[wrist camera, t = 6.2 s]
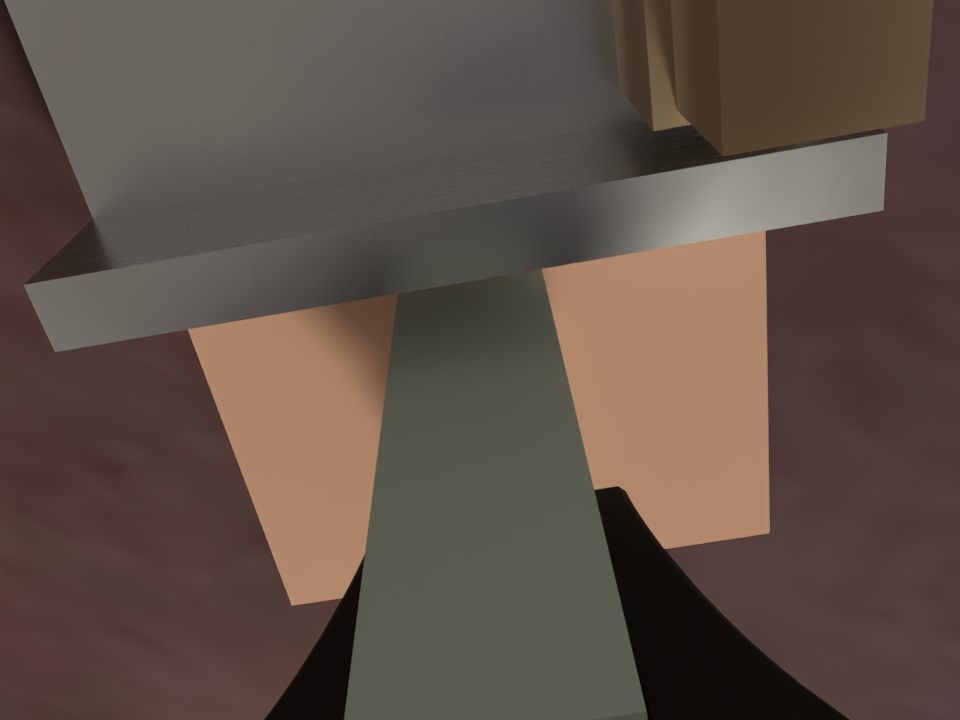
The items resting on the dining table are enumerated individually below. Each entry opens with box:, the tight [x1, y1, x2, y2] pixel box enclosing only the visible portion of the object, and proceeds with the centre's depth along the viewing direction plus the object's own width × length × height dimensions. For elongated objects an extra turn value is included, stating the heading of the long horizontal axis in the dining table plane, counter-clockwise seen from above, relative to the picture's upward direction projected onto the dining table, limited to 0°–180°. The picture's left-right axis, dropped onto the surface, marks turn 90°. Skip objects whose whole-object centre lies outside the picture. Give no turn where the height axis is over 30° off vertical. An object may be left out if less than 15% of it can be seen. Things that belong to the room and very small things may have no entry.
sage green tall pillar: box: [344, 269, 648, 720], centre depth 12 cm, size 2×6×9 cm, turn 10°
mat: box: [188, 231, 770, 605], centre depth 16 cm, size 10×7×1 cm
